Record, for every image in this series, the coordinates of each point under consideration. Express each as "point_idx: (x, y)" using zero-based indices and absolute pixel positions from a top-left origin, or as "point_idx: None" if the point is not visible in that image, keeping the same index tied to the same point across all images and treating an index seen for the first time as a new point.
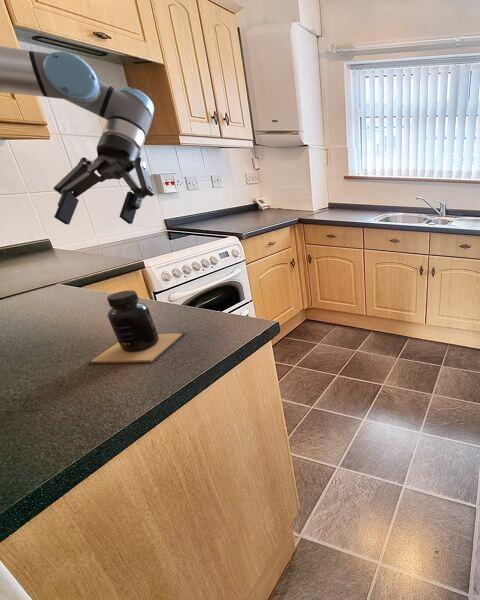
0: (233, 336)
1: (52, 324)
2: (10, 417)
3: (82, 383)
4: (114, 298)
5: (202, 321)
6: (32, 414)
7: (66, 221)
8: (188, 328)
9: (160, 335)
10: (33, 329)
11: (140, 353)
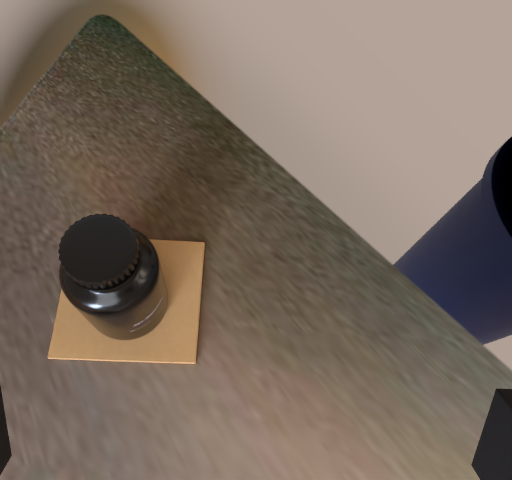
0: None
1: None
2: (220, 116)
3: (172, 182)
4: (103, 219)
5: (14, 452)
6: (193, 119)
7: (480, 449)
8: (45, 401)
9: (102, 348)
10: None
11: None
